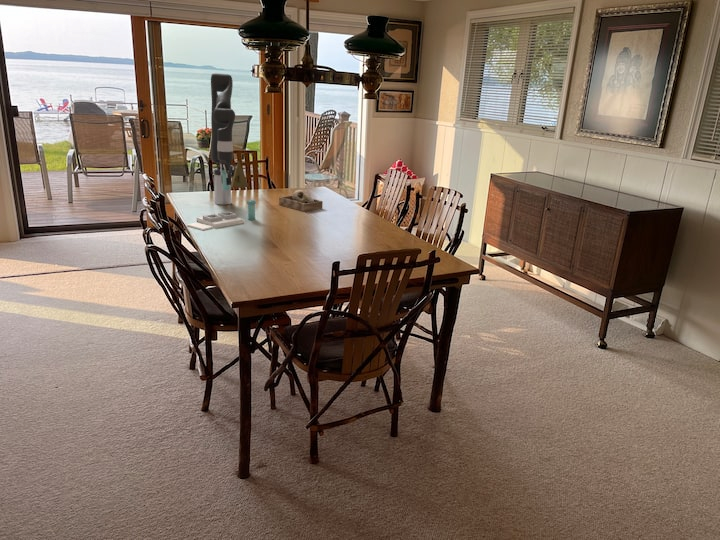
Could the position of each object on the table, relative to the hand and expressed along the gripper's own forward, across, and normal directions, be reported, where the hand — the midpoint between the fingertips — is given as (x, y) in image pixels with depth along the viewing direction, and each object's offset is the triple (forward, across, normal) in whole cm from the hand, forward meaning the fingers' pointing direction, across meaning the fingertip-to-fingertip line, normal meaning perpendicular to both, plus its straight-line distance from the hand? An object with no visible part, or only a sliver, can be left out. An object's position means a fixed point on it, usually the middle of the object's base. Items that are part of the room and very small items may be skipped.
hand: (226, 184), depth 269 cm
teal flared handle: (+3, 0, 0) cm, 3 cm away
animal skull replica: (+19, +2, -55) cm, 58 cm away
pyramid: (+19, +77, -62) cm, 100 cm away
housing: (+19, 0, +4) cm, 20 cm away
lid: (+19, -2, +18) cm, 26 cm away
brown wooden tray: (+19, +4, -54) cm, 58 cm away
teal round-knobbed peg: (+19, -4, -12) cm, 23 cm away
